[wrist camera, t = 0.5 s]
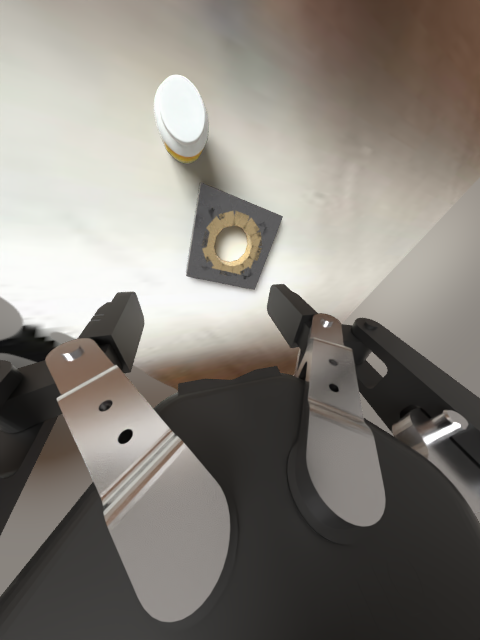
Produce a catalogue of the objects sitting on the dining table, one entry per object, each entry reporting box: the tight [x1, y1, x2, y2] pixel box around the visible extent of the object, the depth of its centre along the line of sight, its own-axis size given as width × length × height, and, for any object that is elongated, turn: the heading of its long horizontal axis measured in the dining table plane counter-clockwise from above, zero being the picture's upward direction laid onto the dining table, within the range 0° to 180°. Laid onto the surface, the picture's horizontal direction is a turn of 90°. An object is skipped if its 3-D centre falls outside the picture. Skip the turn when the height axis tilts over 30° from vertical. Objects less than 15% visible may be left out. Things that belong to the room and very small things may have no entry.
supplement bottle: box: [154, 75, 209, 163], centre depth 19 cm, size 5×5×10 cm
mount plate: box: [186, 183, 283, 290], centre depth 31 cm, size 14×14×2 cm
